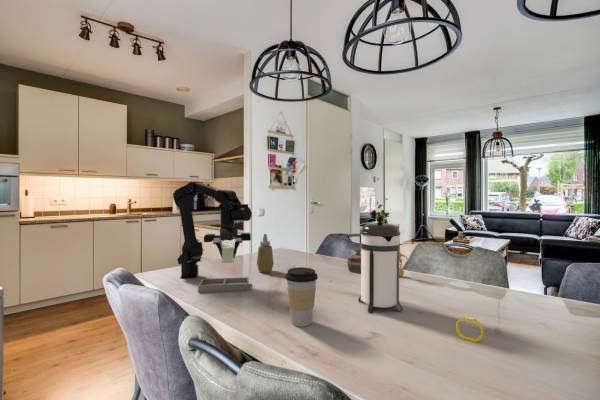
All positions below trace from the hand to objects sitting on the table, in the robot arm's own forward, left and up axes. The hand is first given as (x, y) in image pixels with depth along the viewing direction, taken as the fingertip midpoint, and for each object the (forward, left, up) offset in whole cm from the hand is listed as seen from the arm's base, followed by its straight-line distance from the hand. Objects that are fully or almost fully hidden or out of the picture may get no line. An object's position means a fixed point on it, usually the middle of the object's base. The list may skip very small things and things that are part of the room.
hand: (228, 257), depth 125 cm
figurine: (+75, -1, -11) cm, 75 cm away
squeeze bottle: (+16, +17, -11) cm, 25 cm away
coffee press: (+52, -32, -11) cm, 62 cm away
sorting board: (-1, -6, -10) cm, 12 cm away
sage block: (0, 0, -2) cm, 2 cm away
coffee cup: (+25, -42, -11) cm, 50 cm away
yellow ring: (+66, -58, -11) cm, 89 cm away
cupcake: (+60, +12, -11) cm, 62 cm away
